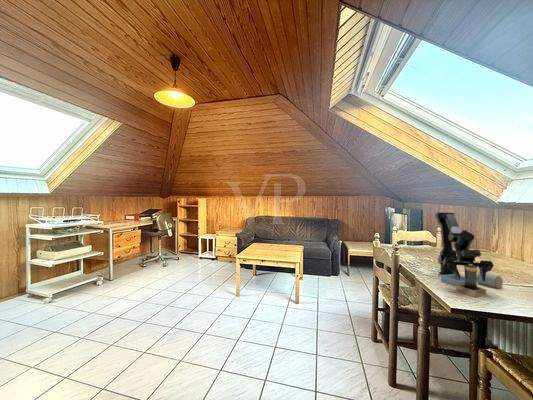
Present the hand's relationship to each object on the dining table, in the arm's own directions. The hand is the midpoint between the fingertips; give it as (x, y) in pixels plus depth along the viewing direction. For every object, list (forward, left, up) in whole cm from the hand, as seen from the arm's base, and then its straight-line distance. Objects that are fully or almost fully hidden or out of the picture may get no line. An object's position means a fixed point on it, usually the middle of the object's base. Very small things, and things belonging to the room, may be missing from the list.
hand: (471, 279), depth 109 cm
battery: (-1, +1, -7) cm, 7 cm away
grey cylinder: (-6, +23, -8) cm, 25 cm away
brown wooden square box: (-1, +1, -8) cm, 8 cm away
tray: (-12, +8, -8) cm, 17 cm away
